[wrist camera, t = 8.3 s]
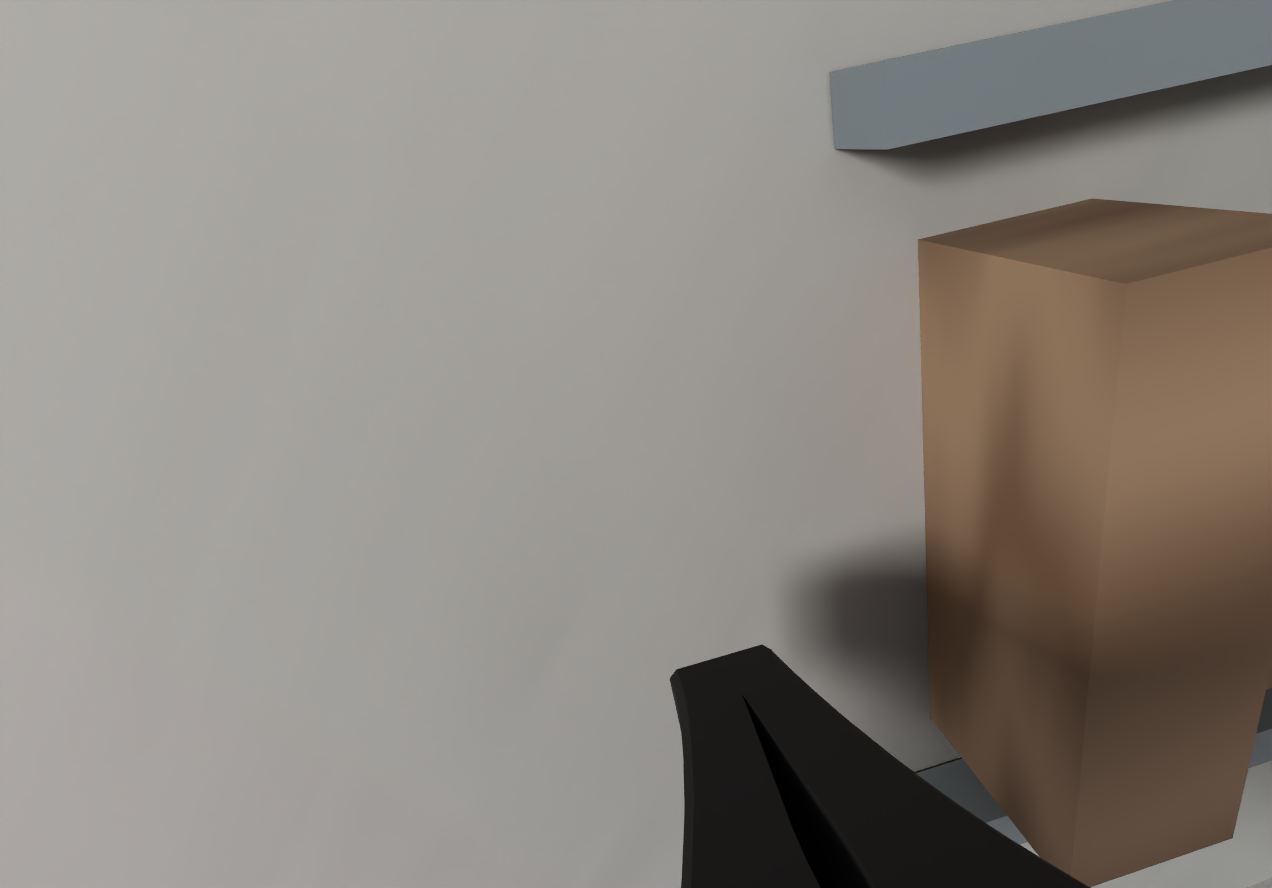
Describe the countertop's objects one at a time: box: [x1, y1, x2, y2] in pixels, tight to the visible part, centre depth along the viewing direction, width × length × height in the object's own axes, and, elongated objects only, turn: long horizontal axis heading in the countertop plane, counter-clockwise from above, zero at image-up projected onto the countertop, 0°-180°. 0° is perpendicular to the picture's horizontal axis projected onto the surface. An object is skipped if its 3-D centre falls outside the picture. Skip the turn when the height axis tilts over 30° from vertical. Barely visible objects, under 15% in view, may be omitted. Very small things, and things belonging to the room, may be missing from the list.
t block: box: [918, 199, 1272, 887], centre depth 12 cm, size 10×10×4 cm
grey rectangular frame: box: [830, 0, 1272, 844], centre depth 13 cm, size 15×14×2 cm
